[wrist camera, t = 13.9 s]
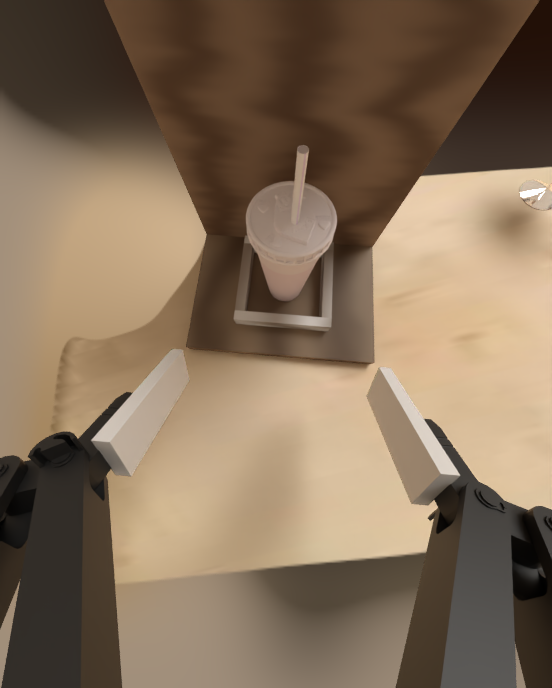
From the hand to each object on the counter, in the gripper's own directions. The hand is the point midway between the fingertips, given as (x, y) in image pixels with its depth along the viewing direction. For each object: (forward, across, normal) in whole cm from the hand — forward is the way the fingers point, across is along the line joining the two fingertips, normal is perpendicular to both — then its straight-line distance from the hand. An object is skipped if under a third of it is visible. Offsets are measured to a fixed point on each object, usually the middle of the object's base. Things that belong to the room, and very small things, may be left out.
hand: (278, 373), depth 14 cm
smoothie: (+13, 0, +2) cm, 13 cm away
